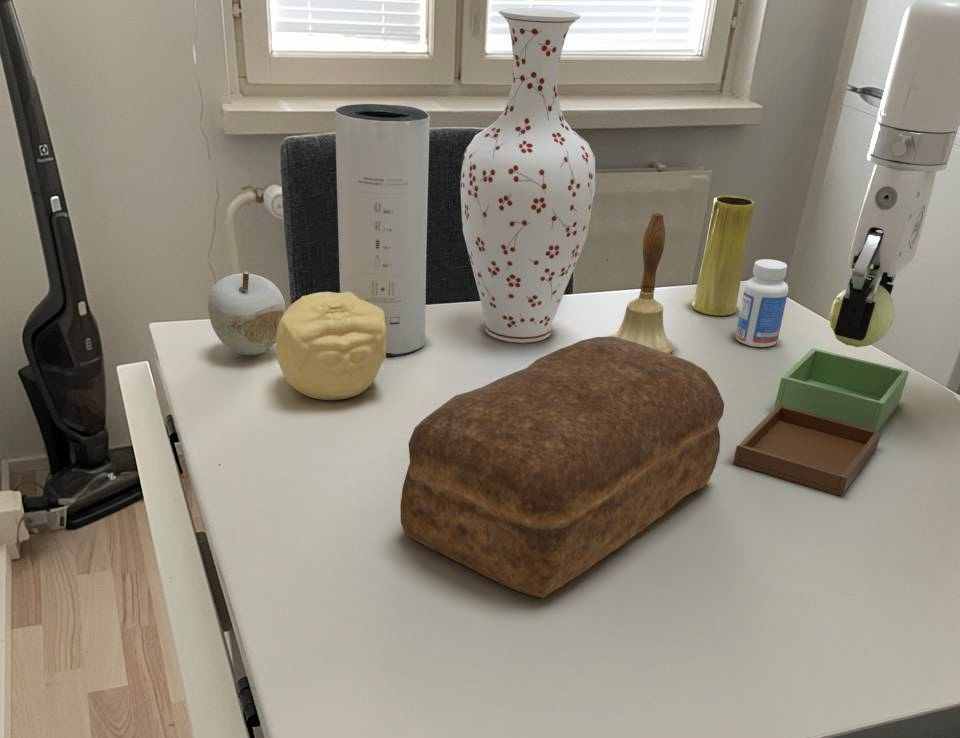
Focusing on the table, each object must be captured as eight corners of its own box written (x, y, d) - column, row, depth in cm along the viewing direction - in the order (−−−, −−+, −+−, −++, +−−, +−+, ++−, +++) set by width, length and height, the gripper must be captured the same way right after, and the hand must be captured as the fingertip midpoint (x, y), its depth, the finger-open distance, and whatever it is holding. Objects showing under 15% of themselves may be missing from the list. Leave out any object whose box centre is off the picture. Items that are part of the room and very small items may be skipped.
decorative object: (249, 334, 123) (241, 251, 116) (303, 351, 119) (298, 266, 113) (196, 355, 117) (185, 268, 110) (251, 374, 113) (243, 285, 107)
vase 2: (744, 310, 138) (766, 201, 130) (720, 319, 134) (742, 208, 126) (707, 298, 141) (726, 192, 133) (683, 308, 138) (701, 198, 129)
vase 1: (450, 308, 133) (458, 0, 112) (568, 309, 135) (598, 6, 114) (461, 354, 120) (473, 16, 99) (591, 354, 122) (630, 23, 101)
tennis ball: (895, 356, 106) (915, 293, 102) (838, 357, 105) (856, 294, 101) (866, 334, 111) (884, 274, 107) (811, 335, 110) (827, 274, 106)
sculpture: (296, 417, 104) (289, 316, 98) (267, 374, 113) (259, 278, 106) (398, 403, 108) (398, 304, 102) (363, 362, 117) (360, 269, 110)
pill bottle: (782, 339, 130) (800, 263, 124) (768, 351, 126) (786, 273, 120) (742, 329, 132) (758, 254, 126) (728, 341, 128) (743, 264, 122)
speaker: (433, 331, 126) (437, 101, 110) (418, 361, 118) (420, 118, 102) (352, 323, 127) (344, 95, 111) (331, 353, 119) (320, 111, 103)
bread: (724, 483, 97) (752, 352, 89) (537, 616, 78) (552, 465, 70) (581, 429, 105) (596, 305, 97) (381, 538, 86) (379, 395, 78)
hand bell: (593, 345, 125) (609, 212, 115) (632, 330, 130) (650, 201, 120) (647, 365, 120) (668, 228, 111) (685, 348, 125) (708, 216, 116)
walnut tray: (876, 449, 105) (881, 431, 103) (841, 496, 96) (847, 478, 95) (774, 421, 109) (778, 404, 108) (732, 463, 100) (736, 445, 99)
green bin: (898, 404, 114) (909, 371, 112) (872, 438, 107) (883, 403, 104) (804, 380, 119) (812, 347, 116) (773, 411, 111) (781, 377, 109)
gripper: (929, 167, 89) (872, 359, 100) (968, 140, 101) (912, 314, 112) (847, 153, 92) (799, 342, 103) (893, 128, 104) (846, 299, 115)
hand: (858, 326), depth 107 cm, fingers closed on tennis ball, 6 cm apart
